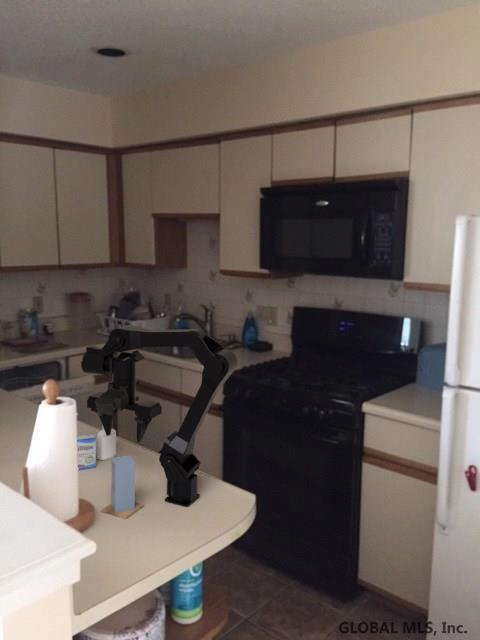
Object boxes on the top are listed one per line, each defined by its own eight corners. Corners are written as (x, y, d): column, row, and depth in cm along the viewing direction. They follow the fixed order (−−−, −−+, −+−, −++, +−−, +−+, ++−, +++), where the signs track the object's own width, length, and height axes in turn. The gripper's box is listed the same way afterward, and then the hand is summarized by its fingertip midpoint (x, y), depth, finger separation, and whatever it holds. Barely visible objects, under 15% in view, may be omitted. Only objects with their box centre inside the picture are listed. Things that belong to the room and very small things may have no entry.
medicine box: (66, 472, 151) (66, 441, 150) (63, 466, 155) (63, 435, 154) (96, 468, 155) (96, 437, 153) (92, 462, 158) (92, 432, 157)
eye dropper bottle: (118, 458, 161) (118, 418, 159) (97, 461, 159) (97, 420, 157) (114, 453, 165) (115, 413, 163) (95, 455, 163) (95, 415, 161)
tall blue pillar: (130, 501, 135) (130, 455, 133) (134, 509, 131) (134, 462, 129) (111, 504, 133) (111, 457, 131) (115, 513, 129) (115, 464, 127)
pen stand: (144, 506, 134) (144, 486, 133) (126, 519, 127) (126, 498, 127) (119, 499, 137) (119, 479, 136) (101, 511, 130) (101, 491, 130)
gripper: (71, 379, 135) (71, 441, 137) (136, 390, 128) (136, 456, 130) (101, 369, 145) (100, 428, 147) (163, 379, 138) (162, 441, 140)
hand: (123, 438), depth 141 cm, fingers open, 9 cm apart
